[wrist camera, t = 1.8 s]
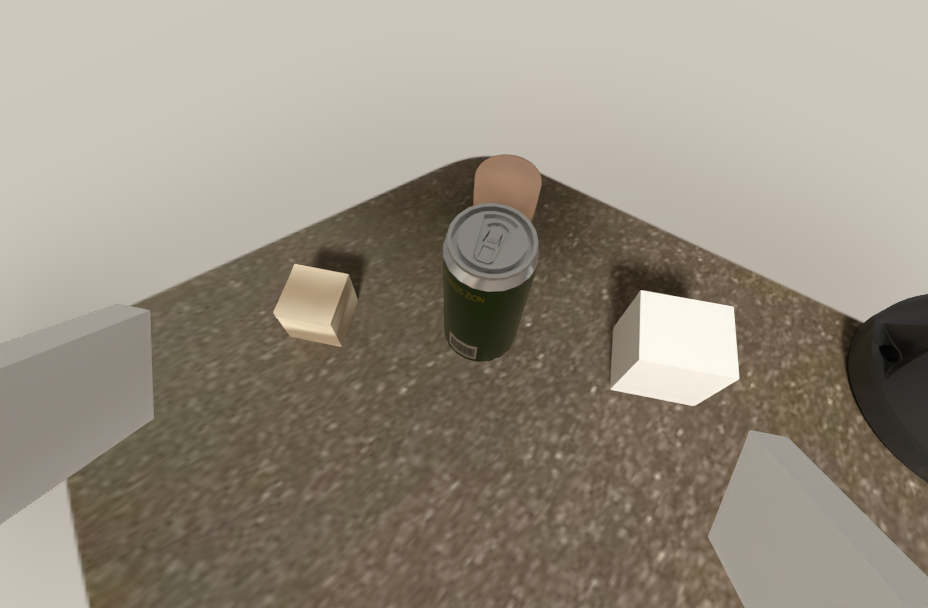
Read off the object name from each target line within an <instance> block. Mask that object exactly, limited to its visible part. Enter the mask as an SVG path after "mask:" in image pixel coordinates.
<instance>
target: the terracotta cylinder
mask: <svg viewBox="0 0 928 608" xmlns="http://www.w3.org/2000/svg"><path fill="white" fill-rule="evenodd" d="M541 184H542V179H541V175H540V173H539V171H538V169H537V168H536V167H535V166H534V165H533V164H532V163H531V162H529V161H528V160H526V159H524V158H522V157H519V156H515V155H497V156H493V157H491V158H488V159H487V160H485V161H484V162H482V163H481V164H480V166H479V167H478V168H477V171H476V174H475V184H474V198H473V206H475V205H478V204H483V203H497V204H502V205H507V206H510V207H512V208H514V209H516V210H518V211H520V212H521V213H522V214H523V215H525V216H526V217H527V218H528V219H529V220H530V221H531V223H532V221H533V217H534V213H535V209H536V205H537V201H538V197H539V193H540V189H541Z"/></svg>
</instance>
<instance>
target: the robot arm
mask: <svg viewBox="0 0 928 608" xmlns="http://www.w3.org/2000/svg"><path fill="white" fill-rule="evenodd" d="M848 366H849V375H850V381H851V385H852V388H853V392H854V395H855V397H856V400H857V402H858V404H859V407H860V409H861V411H862V412H863V414H864V416H865V418H866V419H867V421H868V423H869V424H870V426H871V427H872V429H873V430H874V432H875V433H876V434H877V436H878V437H879V438H880V440H881V441H882V442H883V443H884V444H885V445H886V447H887V448H888V449H889V450H890V451H891V452H892V453H893V454H894V455H895V456H896V457H897V458H898V459H899V460H900V461H901V462H902V463H903V464H904V465H906V466H907V467H908V468H909V469H910V470H911V471H913V472H914V473H915V474H916V475H918V476H919V477H920V478H922V479H923V480H925V481H926V482H928V294H926V295H920V296H916V297H912V298H908V299H906V300H903V301H900V302H898V303H896V304H894V305H892V306H890V307H888V308H887V309H885V310H883V311H881V312H880V313H878V314H876V315H874V316H872V317H871V318H869V319H868V320H867V321H866V322H864V323H863V324H862V326H861V327H860V328H859V329H858V331H857V332H856V334H855V336H854V338H853V340H852V343H851V346H850V351H849V360H848ZM152 419H154V413H153V383H152V354H151V324H150V310H146V309H141V308H136V307H131V306H126V305H121V304H116V305H113V306H110V307H107V308H104V309H101V310H98V311H95V312H92V313H89V314H86V315H84V316H81V317H78V318H75V319H72V320H69V321H66V322H63V323H60V324H57V325H54V326H51V327H48V328H46V329H43V330H40V331H37V332H34V333H31V334H28V335H25V336H22V337H19V338H17V339H13V340H10V341H8V342H4V343H1V344H0V524H1V523H3V522H5V521H6V520H7V519H9V518H10V517H12V516H13V515H15V514H16V513H17V512H19V511H20V510H22V509H23V508H25V507H26V506H28V505H29V504H30V503H32V502H33V501H35V500H36V499H38V498H39V497H41V496H42V495H44V494H45V493H46V492H48V491H49V490H51V489H52V488H54V487H55V486H56V485H58V484H59V483H61V482H62V481H64V480H65V479H67V478H68V477H70V476H71V475H73V474H74V473H75V472H77V471H78V470H80V469H81V468H83V467H84V466H86V465H87V464H89V463H90V462H91V461H93V460H94V459H96V458H97V457H99V456H100V455H102V454H103V453H104V452H106V451H107V450H109V449H110V448H112V447H113V446H115V445H116V444H117V443H119V442H120V441H122V440H123V439H125V438H126V437H128V436H129V435H131V434H132V433H133V432H135V431H136V430H138V429H139V428H141V427H142V426H144V425H145V424H146V423H148V422H149V421H151V420H152ZM708 538H709V540H710V542H711V544H712V545H713V547H714V549H715V551H716V553H717V555H718V557H719V559H720V561H721V563H722V565H723V567H724V569H725V571H726V573H727V574H728V576H729V578H730V580H731V582H732V584H733V586H734V588H735V590H736V592H737V594H738V596H739V598H740V600H741V602H742V603H743V605H744V607H745V608H928V577H927V576H926V575H925V574H924V573H923V572H922V571H921V570H920V569H919V568H918V567H917V566H916V565H915V564H914V563H913V562H912V561H911V560H910V559H909V558H908V557H907V556H906V555H905V554H904V553H903V552H902V551H901V550H900V549H899V548H898V547H897V546H896V545H895V544H894V543H893V542H892V541H891V540H890V539H889V538H888V537H887V536H886V535H885V534H884V533H883V532H882V531H881V530H880V529H879V528H878V527H877V526H876V525H875V524H874V523H873V522H872V521H871V520H870V519H869V518H868V517H867V516H866V515H865V514H864V513H863V512H862V511H861V510H860V509H859V508H858V507H857V506H856V505H855V504H854V503H853V502H852V501H851V500H850V499H849V498H848V497H847V496H846V495H845V494H844V493H843V492H842V491H841V490H840V489H839V488H838V487H837V486H836V485H835V484H834V483H833V482H832V481H831V480H830V479H829V478H828V477H827V476H826V475H825V474H824V473H823V472H822V471H821V470H820V469H819V468H818V467H817V466H816V465H815V464H814V463H813V462H812V461H811V460H810V459H809V458H808V457H807V456H806V455H805V454H804V453H803V452H802V451H801V450H800V449H799V448H798V447H797V446H796V445H795V444H794V443H793V442H792V441H791V440H790V439H789V438H787V437H782V436H777V435H772V434H767V433H762V432H757V431H752V430H750V431H749V434H748V436H747V439H746V441H745V444H744V447H743V449H742V452H741V454H740V457H739V459H738V462H737V464H736V467H735V469H734V472H733V474H732V477H731V480H730V482H729V485H728V487H727V490H726V492H725V495H724V497H723V500H722V502H721V505H720V507H719V510H718V513H717V515H716V518H715V520H714V523H713V525H712V528H711V530H710V533H709V535H708Z"/></svg>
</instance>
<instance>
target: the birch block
mask: <svg viewBox="0 0 928 608" xmlns="http://www.w3.org/2000/svg"><path fill="white" fill-rule="evenodd" d="M357 302H358V299H357V296H356V293H355V290H354V287H353V285H352V282H351V279H350V276H349V274H345V273H340V272H334V271H329V270H324V269H319V268H313V267H308V266H303V265H297V264H295V265H294V267H293V269H292V271H291V274H290V276H289V278H288V280H287V283H286V285H285V287H284V290H283V292H282V294H281V296H280V299H279V301H278V303H277V305H276V308H275V310H274V312H273V313H274V315H275V316H276V317H277V319H278V320H279V322H280V323H281V324H282V326H283V327H284V328H285V330H286V331H287V333H288V334H289V335H290V337H295V338H300V339H305V340H310V341H315V342H320V343H325V344H330V345H335V346H340V347H342V345H343V342H344V340H345V337H346V334H347V331H348V328H349V325H350V322H351V320H352V317H353V314H354V311H355V308H356V305H357Z"/></svg>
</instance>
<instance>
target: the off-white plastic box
mask: <svg viewBox="0 0 928 608" xmlns="http://www.w3.org/2000/svg"><path fill="white" fill-rule="evenodd" d="M738 379H739V368H738V356H737V344H736V331H735V319H734V307H732V306H726V305H721V304H715V303H710V302H704V301H698V300H693V299H687V298H682V297H676V296H671V295H665V294H660V293H654V292H649V291H643V290H640V292H639V293H638V295H637V296H636V297H635V299H634V300H633V301H632V303H631V304H630V306H629V307H628V308H627V310H626V311H625V312H624V314H623V315H622V317H621V318H620V319H619V321H618V322H617V323H616V325H615V326H614V328H613V340H612V359H611V378H610V390H615V391H620V392H625V393H630V394H635V395H640V396H645V397H650V398H655V399H661V400H666V401H671V402H676V403H681V404H686V405H691V406H695V405H697V404H698V403H700V402H702V401H703V400H705V399H707V398H708V397H710V396H712V395H713V394H715V393H717V392H718V391H720V390H722V389H723V388H725V387H727V386H728V385H730V384H732V383H733V382H735V381H737V380H738Z"/></svg>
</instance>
